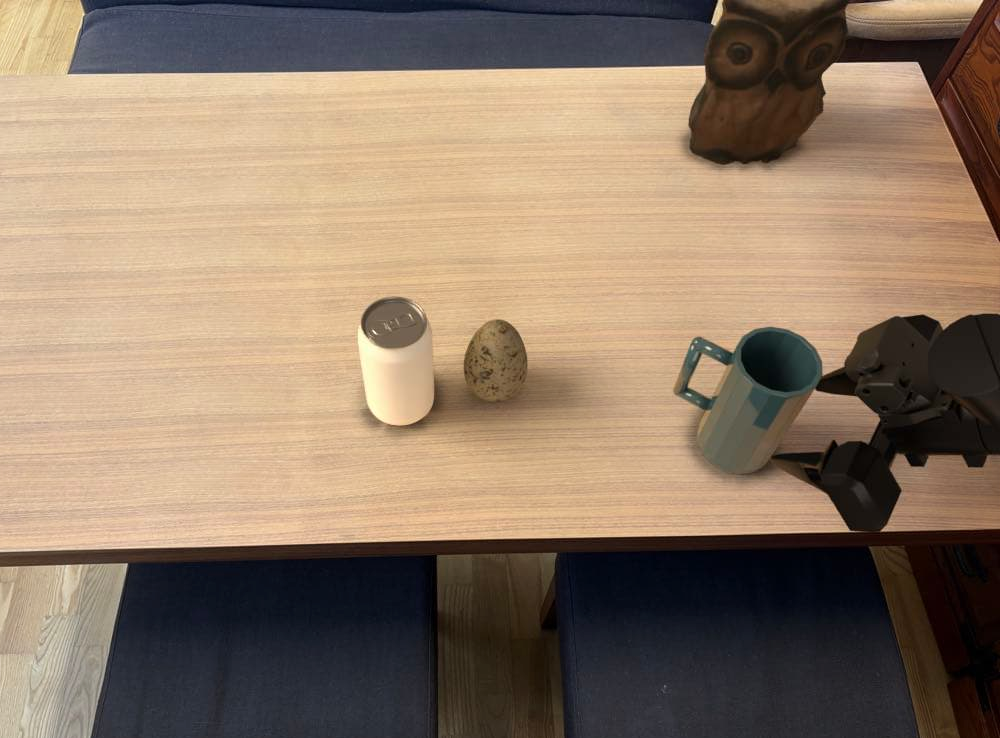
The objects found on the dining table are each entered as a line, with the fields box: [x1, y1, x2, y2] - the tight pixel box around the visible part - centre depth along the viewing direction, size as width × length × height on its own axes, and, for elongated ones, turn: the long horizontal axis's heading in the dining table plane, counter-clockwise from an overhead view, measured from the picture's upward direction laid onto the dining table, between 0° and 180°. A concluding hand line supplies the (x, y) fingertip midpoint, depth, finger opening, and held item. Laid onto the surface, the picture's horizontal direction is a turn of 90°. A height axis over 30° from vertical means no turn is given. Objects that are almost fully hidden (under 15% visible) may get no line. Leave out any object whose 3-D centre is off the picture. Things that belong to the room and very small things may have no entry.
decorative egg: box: [463, 318, 529, 403], centre depth 78 cm, size 6×6×10 cm
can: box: [357, 295, 435, 426], centre depth 77 cm, size 6×6×12 cm
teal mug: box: [672, 326, 824, 475], centre depth 75 cm, size 10×7×13 cm, turn 56°
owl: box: [687, 0, 852, 166], centre depth 94 cm, size 13×13×20 cm
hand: (794, 422), depth 73 cm, fingers open, 9 cm apart
